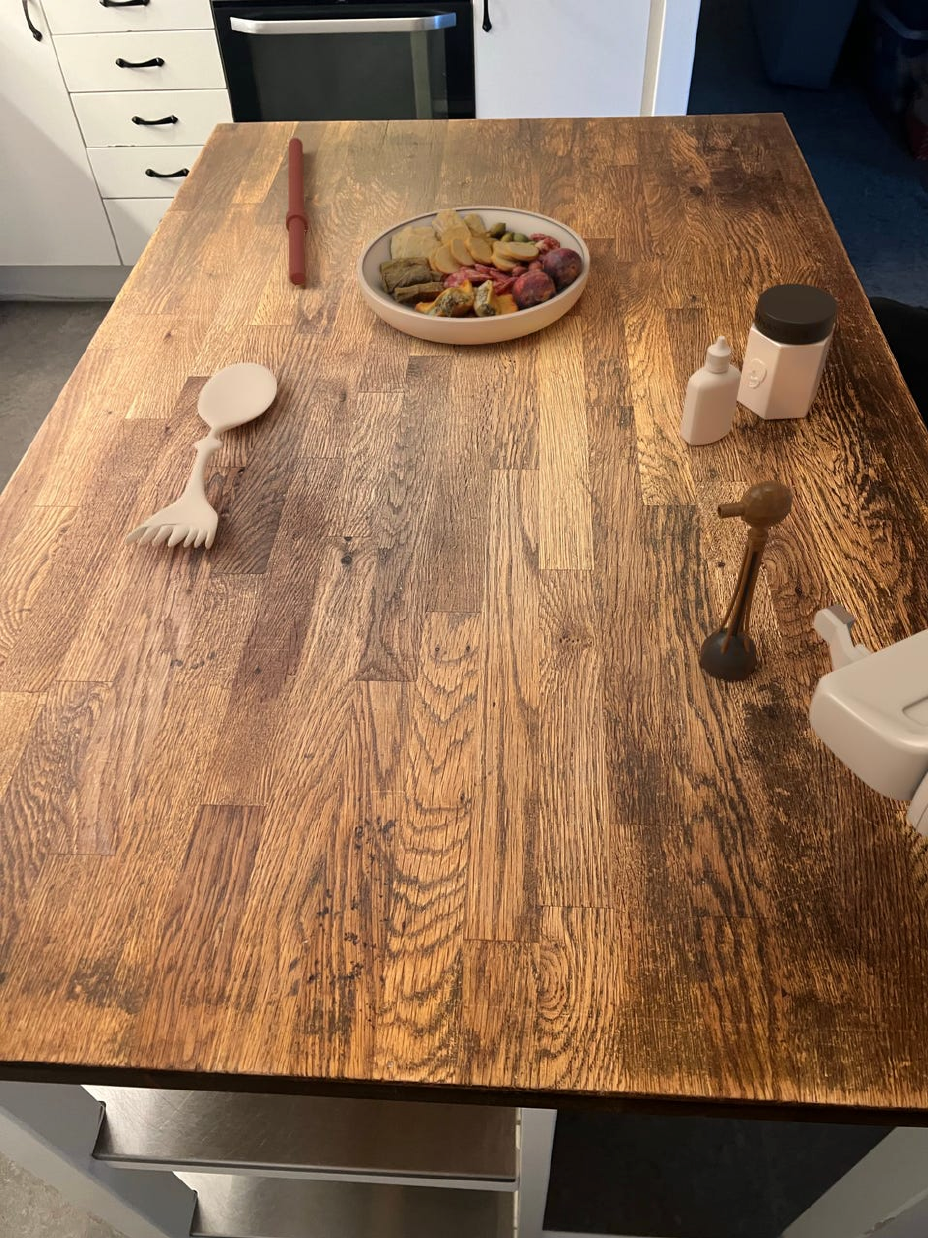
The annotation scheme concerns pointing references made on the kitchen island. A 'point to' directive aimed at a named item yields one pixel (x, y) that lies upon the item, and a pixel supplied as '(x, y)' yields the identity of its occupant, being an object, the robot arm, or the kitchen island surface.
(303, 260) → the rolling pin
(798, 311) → the jar
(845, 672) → the robot arm
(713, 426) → the eye dropper bottle
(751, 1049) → the kitchen island surface
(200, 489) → the spoon
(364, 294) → the bowl
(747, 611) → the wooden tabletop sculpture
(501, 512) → the kitchen island surface
